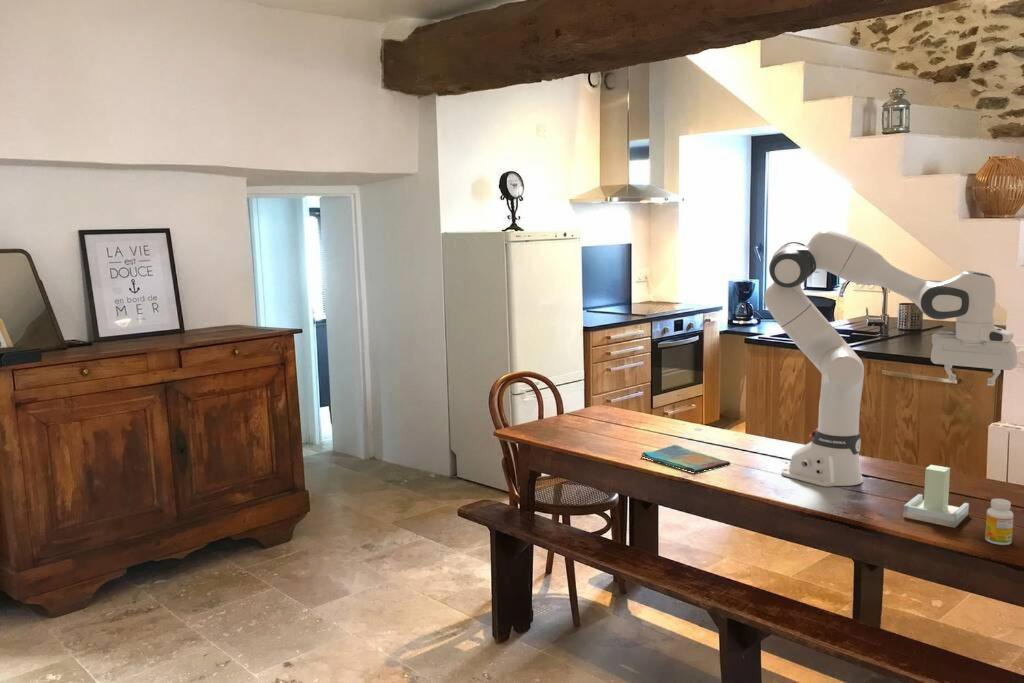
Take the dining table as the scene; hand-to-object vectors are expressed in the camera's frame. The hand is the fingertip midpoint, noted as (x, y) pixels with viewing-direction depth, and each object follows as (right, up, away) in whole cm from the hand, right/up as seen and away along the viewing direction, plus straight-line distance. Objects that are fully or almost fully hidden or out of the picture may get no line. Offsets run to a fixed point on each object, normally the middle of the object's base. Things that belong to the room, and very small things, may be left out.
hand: (971, 383), depth 223 cm
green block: (-16, -32, -12) cm, 37 cm away
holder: (-16, -33, -12) cm, 39 cm away
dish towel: (-69, -28, +41) cm, 85 cm away
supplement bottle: (-10, -36, -29) cm, 47 cm away
